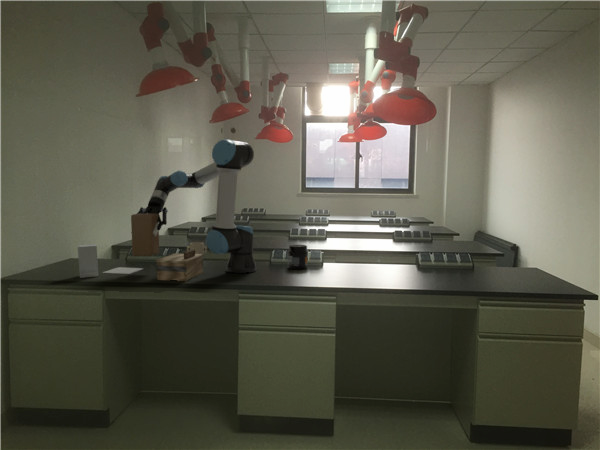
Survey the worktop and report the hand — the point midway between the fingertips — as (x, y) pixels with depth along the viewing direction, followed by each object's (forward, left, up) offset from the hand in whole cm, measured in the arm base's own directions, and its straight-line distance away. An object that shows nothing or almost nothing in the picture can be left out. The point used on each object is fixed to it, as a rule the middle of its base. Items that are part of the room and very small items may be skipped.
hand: (143, 234), depth 221 cm
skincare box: (+23, +10, -20) cm, 32 cm away
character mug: (-18, -22, -20) cm, 34 cm away
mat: (+14, -5, -19) cm, 24 cm away
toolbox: (-19, +1, -19) cm, 27 cm away
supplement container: (-70, -32, -20) cm, 80 cm away
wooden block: (0, -2, -10) cm, 11 cm away
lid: (-19, +1, -11) cm, 22 cm away
